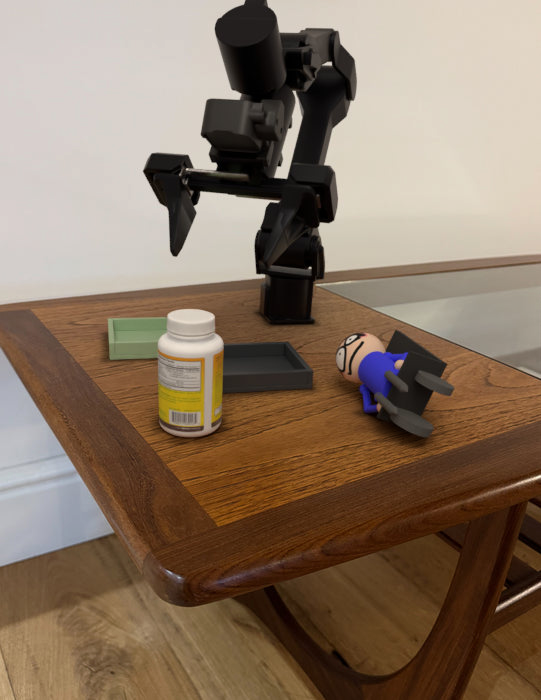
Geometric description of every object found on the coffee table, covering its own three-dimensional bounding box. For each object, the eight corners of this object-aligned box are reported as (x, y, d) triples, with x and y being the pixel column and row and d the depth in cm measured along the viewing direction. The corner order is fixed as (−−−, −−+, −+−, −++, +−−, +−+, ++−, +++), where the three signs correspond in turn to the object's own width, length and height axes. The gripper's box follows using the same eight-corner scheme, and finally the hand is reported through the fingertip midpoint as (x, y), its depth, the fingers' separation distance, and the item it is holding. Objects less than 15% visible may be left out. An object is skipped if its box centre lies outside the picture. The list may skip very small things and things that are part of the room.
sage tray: (197, 331, 80) (198, 316, 79) (209, 356, 71) (210, 339, 71) (108, 333, 77) (107, 318, 76) (109, 360, 68) (109, 343, 68)
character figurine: (386, 456, 52) (328, 387, 66) (464, 444, 54) (391, 379, 67) (391, 371, 49) (329, 317, 63) (472, 361, 51) (395, 310, 65)
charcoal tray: (287, 357, 72) (288, 341, 72) (312, 388, 64) (313, 370, 63) (192, 361, 69) (192, 344, 69) (205, 394, 61) (205, 375, 60)
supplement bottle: (203, 407, 58) (205, 303, 55) (232, 431, 54) (237, 320, 51) (148, 419, 55) (146, 309, 52) (174, 445, 51) (175, 328, 48)
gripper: (148, 63, 58) (93, 196, 53) (343, 70, 54) (305, 217, 48) (183, 145, 68) (139, 265, 63) (350, 158, 64) (319, 288, 58)
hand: (218, 259), depth 57 cm, fingers open, 9 cm apart
